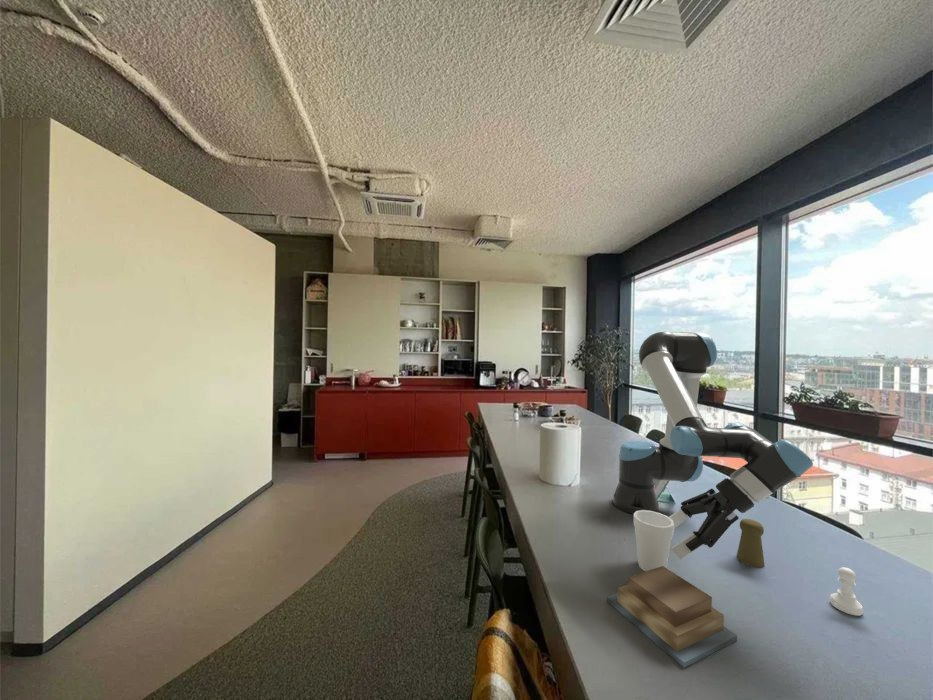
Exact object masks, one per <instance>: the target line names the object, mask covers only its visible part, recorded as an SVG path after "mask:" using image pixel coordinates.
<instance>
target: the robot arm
mask: <svg viewBox="0 0 933 700" xmlns="http://www.w3.org/2000/svg"><path fill="white" fill-rule="evenodd" d="M717 357H718V350H717V346H716V343H715V341H714V339H713V338H712V337H711V336H710V335H708V334H707V333H703V332H694V331H691V332H689V331H688V332H684V331H683V332H682V331H680V332H679V331H672V332H671V331H659V332H655V333H653V334H650V335H649V336H648V337H646V338H645V339H644V340H643V342H642V344H641V345H640V348H639V352H638V360H639V363H640V364H639V365H640V366H641V367H642V370H643V371H644V372H645V373H648V375H649V377H650V379H651V381H652V384H653V385H654V387H655V389H656V392H657V393H658V396H659V398H660V400H661V402H662V404H663V406H664V408H665V410H666V413H667V415H666V422H665V423H666V425H665V433H664V437H662V438H661V439H659V445H658V446H656V445H655V444H654V443H653V442H650V441H645V440H644V441H643V440H633V441H632V440H631V441H626V442H624V443H622V444H621V446H620V448H619V450H620V451H619V455H618V458H619V463H618V464H619V467H618V468H619V469H618V470H619V471H618V483H617V486H616V489H615V491H614V494H613V499H612V502H613V505H614V507H617V508H618V509H619V510H621V511H623V512H626V513H629V514H632V515H634V513H635V512H636V511H640V510H648V511H654V512H658V513H660V511H659V510H660V508H659V507H660V506H659V502H658V499H657V496H656V492H655V481H666V482H667V481H670V482H681V483H684V482H694V481H697V480H698V479H699V478H700V477H701V475H702V473H703V469H704V461H703V457H714V458H715V457H716V458H731V459H742V460H744V461H745V462H746V463H745V464H744V465H742V466H740V467H739V468H738V469H736V470H735V471H733V472H732V473H730V474H729V477H730V478H726V477H725V478H724V479H723V480H721V481H720V482H718V483H716V485H715V488H716V490H717V491H718V492H717V491H716V490H715V489H714V488H710V489H708V490H707V491H705V492H703V493H700V494H698V495H696V496H693V497H691V498H688V499H687V500H684V501H681V503H680V505H681V506H680V508H679V509H678V510H677V511H675V512H674V513H672V514H671V515H669V516H668V517H669V518H670V519H672V520H673V522H674V529H676V528H677V527H679V526H680V525H682V524H684V523H685V522H686V521H687V520H688V519H691V518H692V517H693V516H695V515H699V514H700V515H701V514H705V513H706V514H707V516H706V517H705V519H704V520H703V522H702V524H700V525H701V526H700V527H699V528H698V531H692V533H690V534H689V535H687V536H686V537H685V538H683V539H681V540H680V541H678V542H677V543H675V545H673V546H670V550H671V551H672V552H673V553H674V554H675V555H676V557H677V558H679V559H680V560H681V559H683V558H685V557H686V556H687V555H689V554H691V553H693V552H694V551H695V550H697V549H698V548H700V547H701V546H703V545H705V546H707V547H708V548H712V547H713V546H715V544H716V543H717V542H718V541H719V540H720V538H721V537H722V536H723V535H724V534H725V532H727V530H728V529H729V528H730V526H731V525H733V524H734V523H735V522H736V521H738V520H739V519H740V518H739V516H738V515H737V514H736V513H735V510H737V511H738V512H739V513H741V514H744V513H746V512H747V511H749V510H751V509H752V508H754V507H755V502H756V503H757V504H758V503H760V502H762V501H764V500H768V499H769V498H770V496H771V495H773V494H774V493H776V492H778V490H780V489H782V488H783V487H785V486H787V485H788V484H790V483H792V482H793V481H795V480H796V479H797V478H800V477H802V475H803V474H805V473H806V472H807V471H809V469H811V468H812V467H813V465H814V464H813V460H812V459H811V458H810V456H809V455H807V454H806V453H805V452H804V451H803V450H802V449H800V448H799V447H798V446H797V445H795V444H794V443H792V442H791V441H789V440H786V439H780V440H778V441H775V442H772V441H771V440H769V439H768V438H767V437H765V436H764V435H763V434H761V433H760V432H758V431H757V430H756V429H754V428H752V427H751V426H748V425H746V424H744V423H741V422H732V423H730V424H727V425H725V426H724V427H709V426H708V425H707V423H706V422H705V420H704V418H703V416H702V414H701V413H700V411H699V409H698V399H699V390H700V381H701V377H703V376H704V375H705V374H706V373H707V368H709V367H711V366H713V365H714V364H715V363H716V361H717Z"/></svg>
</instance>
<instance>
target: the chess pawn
mask: <svg viewBox="0 0 933 700" xmlns="http://www.w3.org/2000/svg"><path fill="white" fill-rule="evenodd" d="M837 573H838V576H839V577H838V578H837V580H838V581H839V582H840V583H841V587H840V588H837V590H836V592H834V593H831V594H830V599H829V600H830V601H829V603H830V604H831V605H832V606H833V607H834V608H836V609H838V610H839V611H841V612H842V613H845V614H848V615H852V616H856V617H859V616H862V615H863V613H864V612H863V607H864V606H863V605H862V604H861V603H860V602H859V601H858V600H857V596H856V595H855V594H854V591H853V587H856V586H857V584H856V581H857V575H856V573H855V571H853V570H852V569H851V568H848V567H843V566H842V567H840V568H838V571H837Z"/></svg>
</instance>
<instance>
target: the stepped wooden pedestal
mask: <svg viewBox="0 0 933 700" xmlns="http://www.w3.org/2000/svg"><path fill="white" fill-rule="evenodd" d="M627 577H628V580H627V581H628V584H625V585H622V586H618V587H617V592H615V593H613V594H611V595H608V596H606V602H608V603H609V604H610V605H611V606H612V607H613V608H614V609H615V610H616V611H617V612H618V613H620V614H621V615H622V616H624V618H626V619H627V621H628V622H630V623H631V624H633V626H635V627H636V628H637V629H638V630H639V631H641V632H642V633H643V634H644V635H645V636H647V638H648V639H649V640H651V641H652V642H653V643H654V644H655V645H657V646H658V647H659V649H661V650H662V651H664V652H665V653H666V654H667V655H669V657H670V658H672V660H673V661H675V662H676V663H677V664H679V666H681V667H682V668H683V669H685V668H687V667H689V666H690V665H692V664H694V663H697V662H698V661H700V660H702V659H704V658H706V657H708V656H710V655H712V654H714V653H715V652H718V651H720V650H721V649H723V648H726V647H727V646H729V645H731V644H733V643H735V642H737V641H738V635H737V634H736V633H734V631H731V630H730V629H728V628H727V627H725V625H724V623H725V622H724V620H725V619H724V617H725V614H723V613H722V612H720V611H719V610H717V609H716V608H714V607H713V606H712V605H713V597H712V596H711V595H710V594H708V593H706V592H704V591H703V590H702V589H700V588H698V587H697V586H695V585H694V584H692V583H690V582H689V581H687V580H685V579H684V578H682V577H681V576H679V575H678V574H677V573H675V572H673V571H672V570H670V569H668V568H667V567H666V568H665V567H664V566H661V567H658V568H655V569H652V570H649V571H643V572H640V573H637V574H633V575H631V576H627Z"/></svg>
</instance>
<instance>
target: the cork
mask: <svg viewBox="0 0 933 700" xmlns="http://www.w3.org/2000/svg"><path fill="white" fill-rule="evenodd" d="M739 528H740V530H741V533H740V538H739V544H738V547H737V553H736V558H737V560H739V562H741V563H743V564H744V565H747V566H750V567H755V568H763V567H765V558H764V550H763V542H762V536H763V535H764V531H765V529H764V528H765V527H764V526H763V525H762V523H761V522H759V521H756V520H754V519H750V518H743V519H740V522H739Z"/></svg>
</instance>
